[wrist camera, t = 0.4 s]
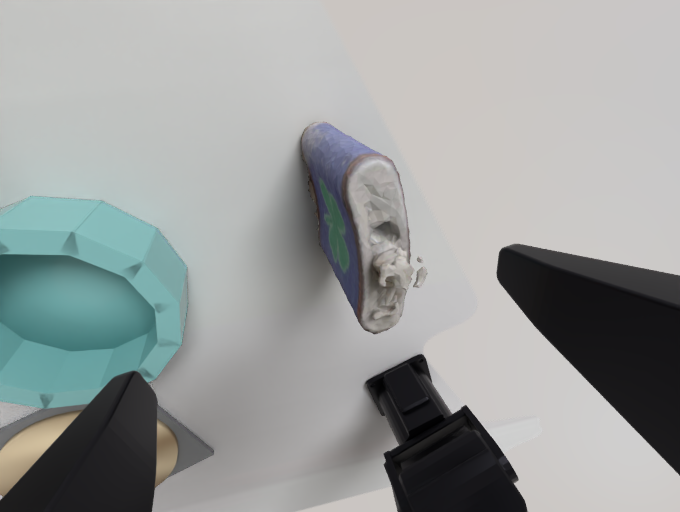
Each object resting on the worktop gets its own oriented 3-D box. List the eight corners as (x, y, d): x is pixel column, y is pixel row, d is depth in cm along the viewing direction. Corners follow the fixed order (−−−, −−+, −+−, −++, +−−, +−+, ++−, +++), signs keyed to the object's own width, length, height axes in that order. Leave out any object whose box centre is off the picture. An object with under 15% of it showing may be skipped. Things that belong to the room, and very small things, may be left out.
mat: (213, 450, 30) (213, 454, 30) (81, 516, 29) (79, 521, 29) (118, 373, 23) (116, 377, 23) (-62, 457, 22) (-66, 463, 22)
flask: (294, 125, 19) (358, 176, 10) (342, 115, 19) (444, 157, 10) (319, 257, 24) (377, 370, 15) (357, 247, 24) (433, 350, 15)
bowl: (220, 309, 23) (219, 349, 20) (68, 379, 22) (41, 433, 19) (108, 163, 17) (79, 187, 13) (-110, 253, 16) (-197, 302, 13)
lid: (205, 454, 30) (201, 544, 24) (80, 517, 29) (46, 624, 23) (115, 384, 23) (80, 485, 18) (-52, 462, 22) (-145, 596, 17)
